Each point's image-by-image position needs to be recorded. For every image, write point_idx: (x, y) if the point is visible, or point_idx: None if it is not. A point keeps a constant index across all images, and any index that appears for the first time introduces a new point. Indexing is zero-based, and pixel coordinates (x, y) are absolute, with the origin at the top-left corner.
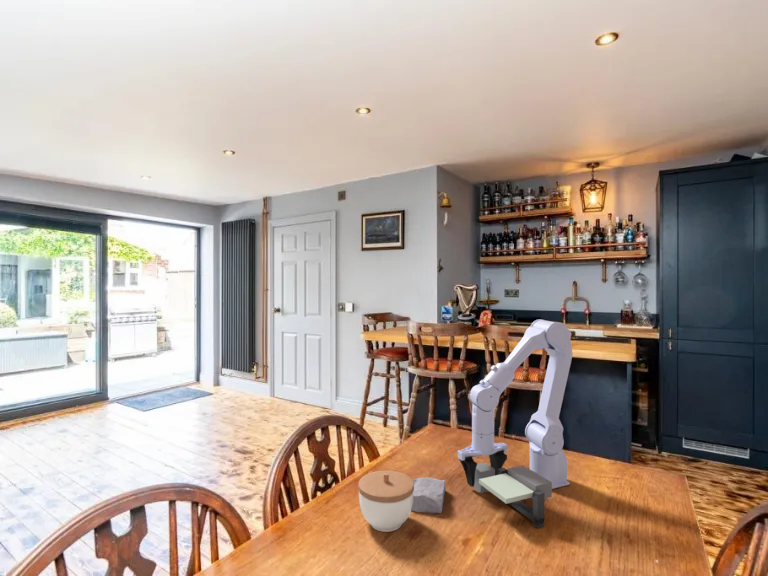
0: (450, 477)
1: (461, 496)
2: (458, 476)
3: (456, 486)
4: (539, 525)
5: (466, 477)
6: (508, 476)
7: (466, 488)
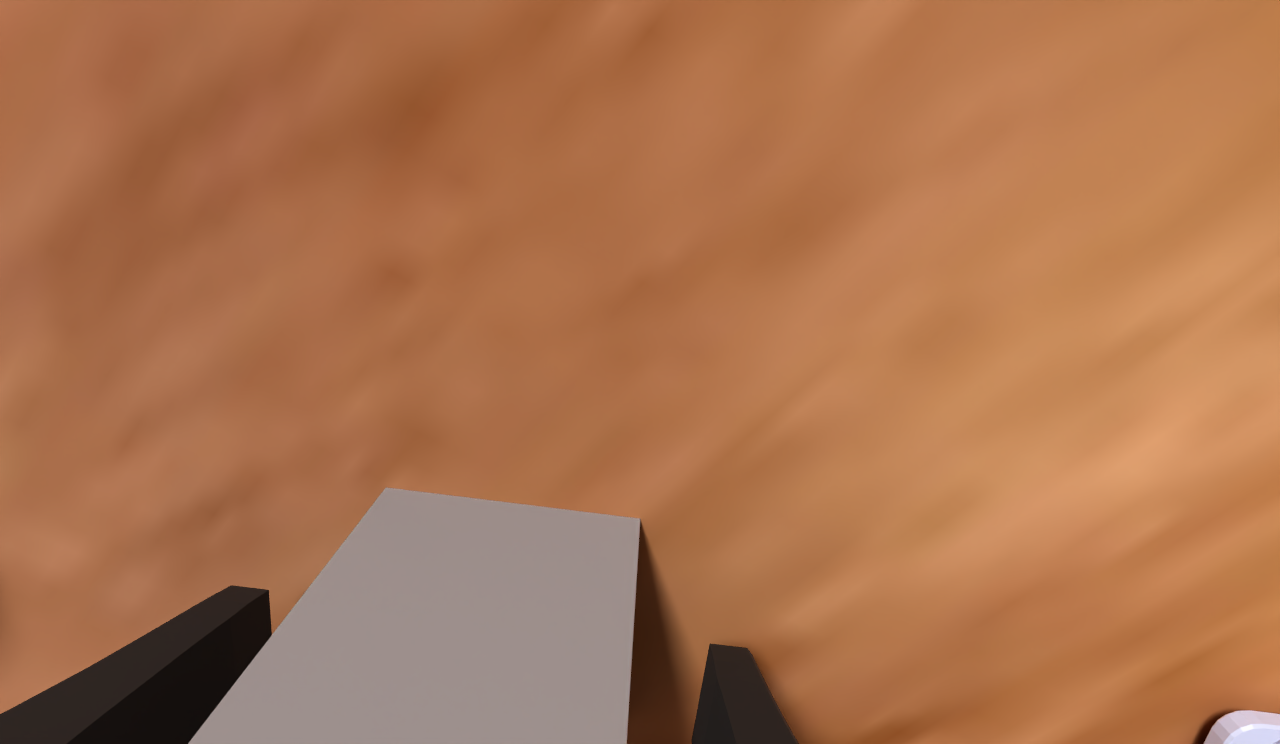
0: (198, 97)
1: (92, 635)
2: (365, 142)
3: (150, 408)
4: None
5: (147, 640)
6: None
7: (268, 521)
